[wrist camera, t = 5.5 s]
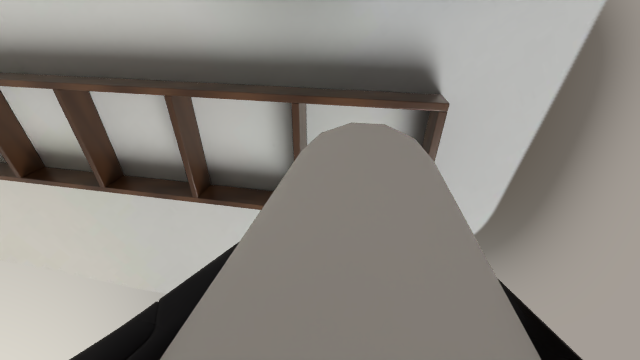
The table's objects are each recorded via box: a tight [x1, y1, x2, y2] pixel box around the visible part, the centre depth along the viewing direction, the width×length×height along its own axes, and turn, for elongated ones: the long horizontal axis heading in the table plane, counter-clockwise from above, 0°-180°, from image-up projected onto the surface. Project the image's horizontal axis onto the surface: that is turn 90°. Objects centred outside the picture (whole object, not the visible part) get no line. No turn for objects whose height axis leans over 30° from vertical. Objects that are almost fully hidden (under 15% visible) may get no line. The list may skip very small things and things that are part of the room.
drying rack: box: [0, 73, 449, 210], centre depth 22 cm, size 54×9×2 cm, turn 89°
